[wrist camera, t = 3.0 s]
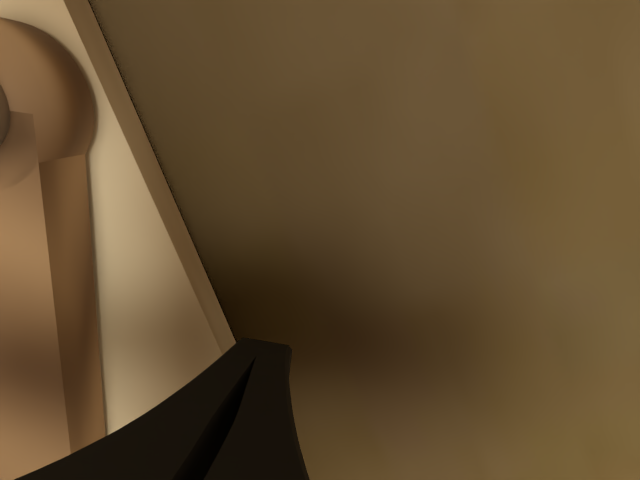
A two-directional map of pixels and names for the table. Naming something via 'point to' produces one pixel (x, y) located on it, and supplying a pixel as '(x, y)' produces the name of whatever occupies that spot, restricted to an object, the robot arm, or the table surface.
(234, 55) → the table surface
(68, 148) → the link
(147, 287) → the latch board
